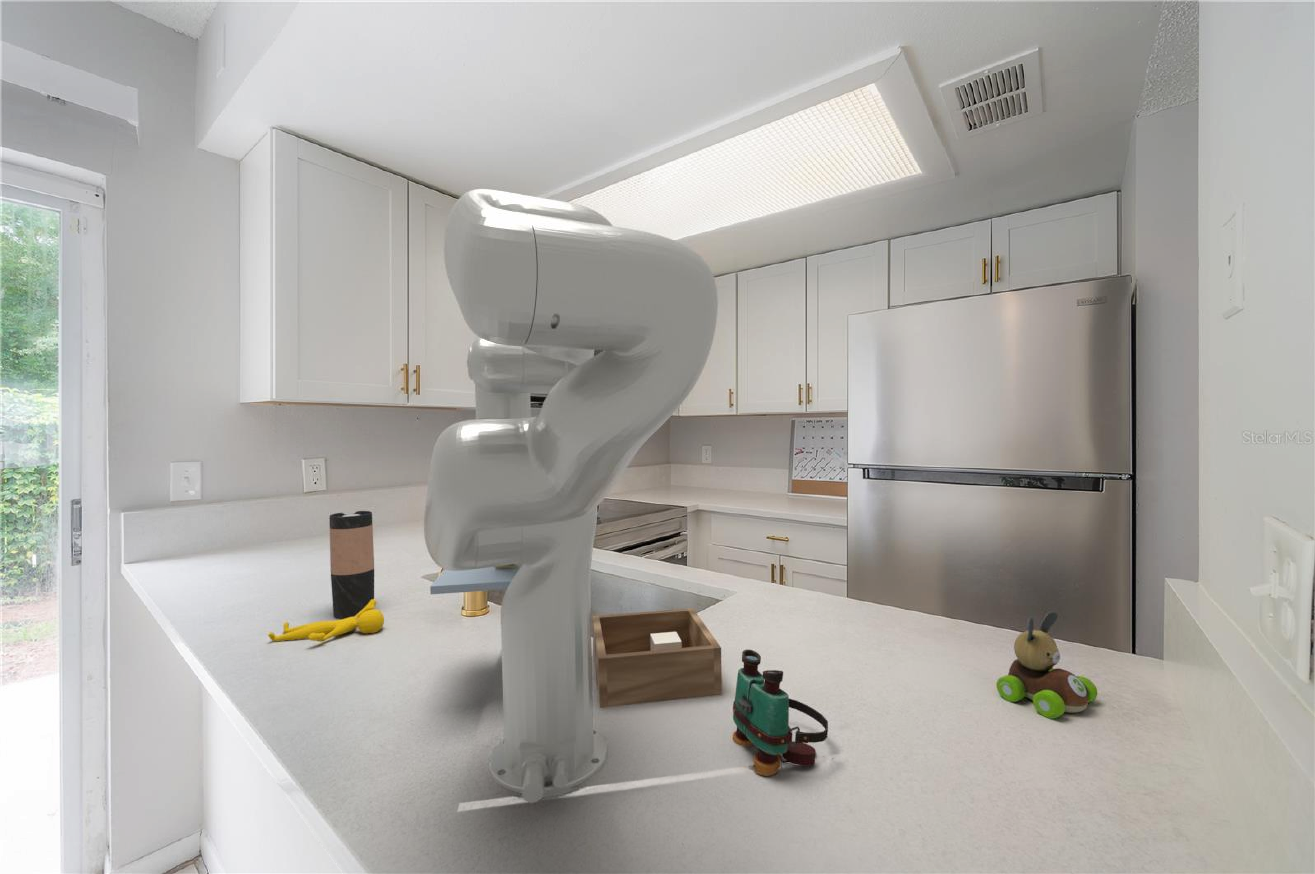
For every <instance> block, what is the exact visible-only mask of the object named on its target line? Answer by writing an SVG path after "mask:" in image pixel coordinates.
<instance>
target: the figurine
mask: <svg viewBox="0 0 1315 874" xmlns="http://www.w3.org/2000/svg"><path fill="white" fill-rule="evenodd" d="M377 603H378V602H377V600H376V599H375V598H374V599H372V600H371V601H370V602H369V603H368V604H367V605H366V607H365V608H363V609H362V610H361V611H360V612H359V613H358V614H357V615H356V616H354V617H349V618H345V619H336V620H322V621H315V622H311V623H305V624H302V625H298V626H294V627H291V628H289V627H290V623H289V622H288V621H286V622H285V623H284V624H283V632H284V633H282V634H280V635H275V633H274V632H272V631H270V632H269V633H268V634H267V636H268V637H269V639H270V640H271V641H273V642H286V641H285V640H291V641H296V640H295V639H302V640H305V639H304V638H309V639H308V640H309V641H313V642H320V643H321V642H325V641H327V640H330V639H331V638H333V637H336V636H341V635H344V634H346V633H349V632H352V631H353V630H354V629H356V628H357V629H358V631H359V632H360V633H362V634H364V633H366V634H365V635H368V634H367V633H371V634H375V633H377V632H379V631H380V630H381V629H382V628H383V626H384V624H385V617H384V616H385V615H384V614H383V612H382V611H380V610H379V609H376V607H375V606H376V605H377Z"/></svg>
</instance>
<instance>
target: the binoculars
mask: <svg viewBox="0 0 1315 874" xmlns="http://www.w3.org/2000/svg"><path fill="white" fill-rule="evenodd" d="M761 660H762V657H761V655H760V653H758V652H757V651H755V650H753V649H745V650H743V651H742V652H741V662H742V664H743V667H741V668H739V669H738V671H737V677H736V687H735V692H734V693H735V694H734V701H733V704H732V714H733V715H732V720H733V722H734V724H735V725H736V730H735V731H734V732H733V733H732V741H733V742H734V744H736V745H738V746H741V747H750V746H753V745H754V746H755V747H756V748H757V752H755V753H754V755H753V759H752V760H753V764H752V767H753V770H754V772H755V773H757V774H758V775H761V776H772V775H775V774H776V773H777V772H778V771H779V770H780V768H781V763H783V764H786V763H789V764H792V765H796V766H802V767H811V766H814V765H815V764H816V752H817V751H816V749H815V748H814V747H813V746H812V745H810V744H808V743H812V744H814V743H822V742H825V740H827V739H828V732H829V721H828V720H827V718H826V717H825V716H824V715H823V714H822V713H820V712H819V711H817V710H816V709H815V708H813V707H811V706H809V705H807V704H805V703H803V702H801V701H798V700H796V699H792V698H789V694H788V693H787V692H786V691H784V690H783V689H782V688H780V686H781V682H783V678H784V671H783V670H776V669H773V670H771V669H770V670H763V671H762V673H761V672H760V671H759V670H758V668H759V665H761ZM790 709H794V710H796V711H798V712H800V713H803V714H805V715H807V716H809V717H811V718H812V719H814V720H815V721H816V722H818V723H819V724H820V725H821V726H822V727H823V728H824V730H822V731H818V732H808V731H807V732H804V731H800V726H794V727H792V728H791V727H790V726H789V725H790V724H789V719H790V718H789V717H790V713H789V711H790ZM794 730H796V731H795V738H794V740H793V731H794ZM783 759H784V760H783Z"/></svg>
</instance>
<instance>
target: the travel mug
mask: <svg viewBox="0 0 1315 874" xmlns="http://www.w3.org/2000/svg"><path fill="white" fill-rule="evenodd" d="M373 525H374V524H373V512H372V511H369V510H358V511H357V510H356V511H355V512H354V513H350V514H345V513H344V512H337V513H332V514H330V515H329V545H330V546H329V554H330V555H329V556H330V557H329V558H330V559H329V560H330V584H331V585H330V586H331V598H332V599H331V600H332V610H333V612H332V613H333V617H334V619H337V618H339V619H338V620H342V619H345V618H349V617H354V616H356V615H357V614H358V613H359V612H360V611H361V610H362V609H363V608H365V607H366V605H367V604H368V603H369V602H370V601H371V600H372V599H374V600H375V553H374V551H375V550H374V528H373Z"/></svg>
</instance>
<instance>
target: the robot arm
mask: <svg viewBox="0 0 1315 874" xmlns="http://www.w3.org/2000/svg"><path fill="white" fill-rule="evenodd" d="M444 230H445V231H444V238H443V239H444V241H443V243H444V244H443V258H444V265H445V267H444V268H445V271H446V276H447V279H448V282H449V285H450V288H451V290H452V293H453V295H454V297H455V299H456V301H457V305H458V307H459V309H460V311H461V315H462V317H463V320H464V322H465V323H466V325H467V326H468V328H469V329H470V330H471V332H472V333H473V334H474V335H475V336H477V337H476V338H475V340H474V341H473V343H472V344H471V345H469V347H468V349H467V357H466V358H467V359H466V367H467V373H468V374H467V375H468V377H469V379H470V381H471V380H472V382H473V384H474V395H475V396H474V397H475V419H467V420H462V421H458V422H456V423H453V424H451V425H450V426H448V427H447V428H446V429H444V430H443V431H442V432H441V433H440V435H439V436H438V438H437V440H436V442H435V444H434V447H433V451H432V455H431V460H430V465H429V474H428V479H427V480H428V482H427V490H426V497H425V498H426V500H425V505H424V515H423V517H424V518H423V533H424V534H423V535H424V540H425V541H424V542H425V546H426V548H427V551H428V554H429V556H430V558H431V559H432V561H433V562H434V563H435V564H436V565H437V566H438V567H440V568H441V569H443V570H444V569H446V570H450V571H464V570H473V569H480V568H488V567H496V566H505V565H518V564H522V566H521V567H520V569H519V571H518V572H517V574H516V575H515V577H514V578H513V580H512V581H511V583H510V585H509V586H508V588H507V589H505V593H504V596H503V598H502V600H501V601H502V602H501V607H500V632H501V633H500V636H501V640H500V642H501V669H502V670H501V671H502V673H501V675H502V705H503V707H502V711H503V715H502V716H503V739H502V740H501V741H500V742H498V744H497V746H495V748H494V749H493V750H492V753H491V755H490V757H489V762H488V763H489V764H488V766H489V767H488V769H489V773H490V775H491V777H492V779H493V780H494V781H495V782H496V783H497V784H498V785H499V786H501V787H503V788H504V789H507V790H508V791H512V792H515V793H521V794H517V795H514V797H516V798H519V799H520V798H521V799H523V800H524V801H525V802H527V803H529V804H534V803H537V802H538V801H540V800H541V799H550V798H551V799H552V798H557V797H561V796H563V795H567V794H571V793H573V792H574V791H578V790H580V789H581V788H583V786H579V787H576V786H578V785H580V784H582V783H584V782H586V781H588V780H589V779H590V778H592V777H593V776H595V775H596V774H597V773H598V772H599V771H600V769H602V767H603V766H604V764H605V763H606V761H607V758H608V755H609V745H608V744H609V743H608V742H607V739H606V737H605V736H604V735H603V733H602V732H601V731H599V730H598V729H597V728H595V727H594V704H593V702H594V701H593V700H594V699H593V696H594V695H593V663H592V662H593V661H592V660H593V659H592V657H593V656H592V654H593V650H592V619H591V618H592V613H591V611H592V609H591V608H592V607H591V605H592V604H591V603H592V602H591V577H592V576H591V575H592V574H591V573H592V559H593V549H594V541H595V536H596V531H597V530H596V528H597V523H598V506H599V505H600V504H602V502H603V501H604V499H605V498H606V497H607V495H609V493H610V492H611V490H612V489H613V488H614V486H615V484H616V483H617V481H618V480H619V479H620V477H622V475H623V473H624V472H625V470H626V469H627V467H629V465H630V463H631V462H632V460H633V459H634V457H635V456H636V454H637V452H639V450H640V449H641V447H642V446H643V445H644V444H645V442H647V440H648V439H650V437H652V436H653V435H654V433H656V432H657V431H658V430H659V429H660V428H661V427H662V426H663V425H664V424H665V422H667V421H668V420H669V419H670V417H671V416H672V415H674V413H676V411H677V410H678V409H679V408H680V406H681V405H682V404H683V403H684V401H685V400H686V399H687V397H688V396H689V395H690V393H691V392H692V391H693V389H694V387H695V386H696V384H697V382H698V381H699V379H700V378H701V377H700V376H701V374H702V372H703V370H704V368H705V367H706V363H707V361H708V359H709V355H710V353H711V349H712V346H713V341H714V336H715V332H716V328H717V327H716V326H717V320H718V306H719V305H718V304H719V303H718V302H719V300H718V289H717V284H716V280H715V277H714V274H713V272H712V270H711V268H710V266H709V264H707V262H706V261H705V260H704V258H703V257H702V256H701V255H700V254H698V253H697V252H696V251H695V250H693V249H692V248H691V247H689V246H688V245H685V244H683V243H681V242H680V241H677V240H674V239H673V238H672V239H671V238H668V237H665V236H663V235H660V234H656V233H653V232H652V233H651V232H648V231H644V230H643V231H642V230H638V229H633V228H627V227H626V228H625V227H621V226H620V227H619V226H613V224H612V223H611V222H610V221H609V220H608V218H606V217H605V216H604V215H602V214H601V213H599V212H597V211H596V210H594V209H592V208H589V207H587V206H584V205H582V204H578V203H573V202H569V201H568V202H567V201H563V200H557V199H550V198H544V197H538V196H532V195H527V194H520V193H516V192H510V191H509V192H508V191H503V190H495V189H489V188H488V189H487V188H478V189H477V188H476V189H472V190H468V191H466V192H465V193H463V194H462V195H461V196H460V197H459V198H458V199H457V201H456V202H455V203H454V205H453V206H452V209H451V210H450V213H449V216H448V219H447V222H446V225H445V229H444ZM595 351H601V352H599V353H598V354H596V355H595ZM531 394H546V395H547V396H546V397H545V399H544V401H543V403H542V406H541V409H540V412H539V415H538V416H532V412H531V411H532V410H531Z"/></svg>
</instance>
